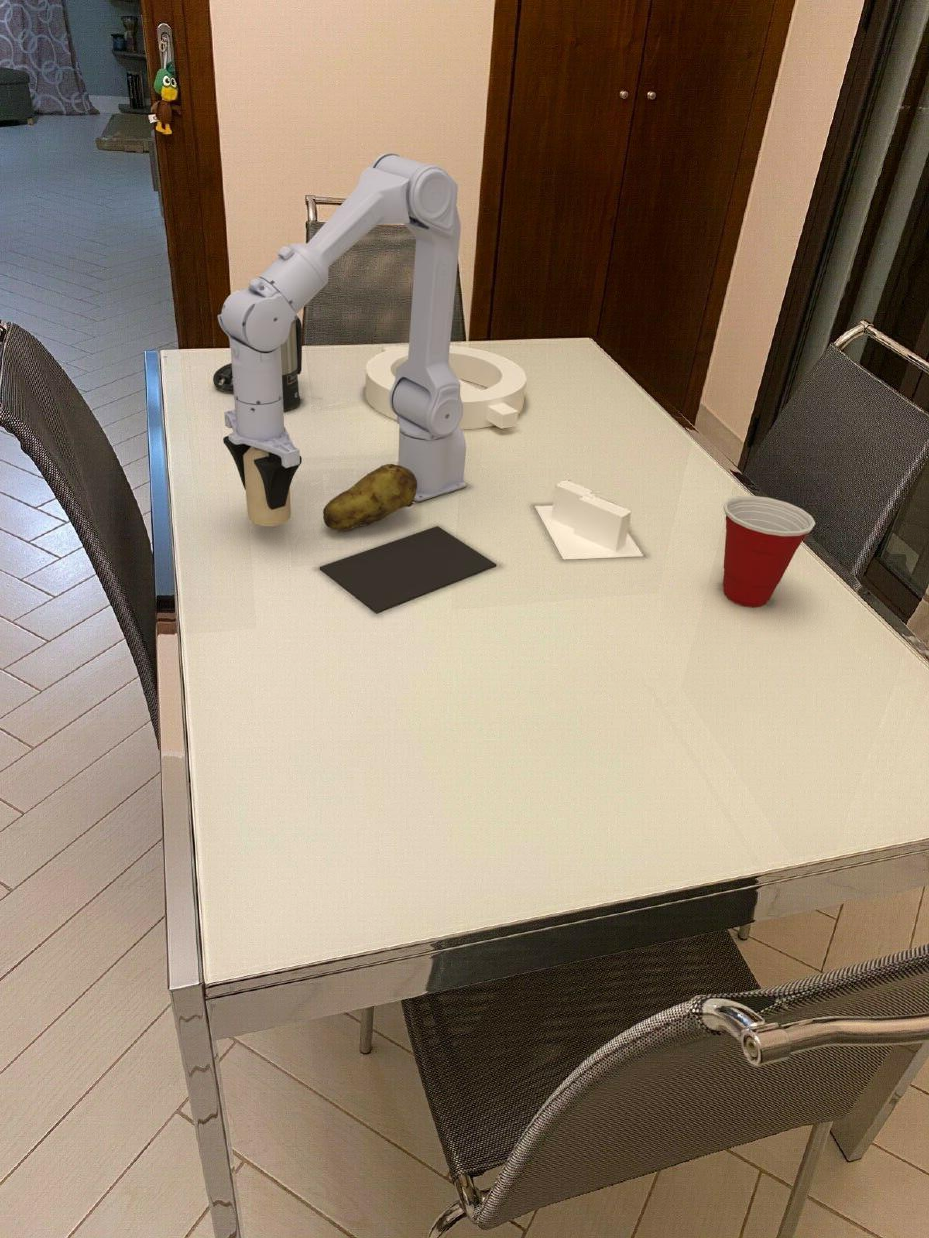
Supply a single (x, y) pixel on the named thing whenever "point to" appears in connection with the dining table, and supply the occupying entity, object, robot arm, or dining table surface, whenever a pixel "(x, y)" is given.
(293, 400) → the milk frother
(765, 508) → the plastic cup
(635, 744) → the dining table surface
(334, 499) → the potato
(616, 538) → the napkin holder
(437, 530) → the mat
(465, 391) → the white circle with bar
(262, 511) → the candle
